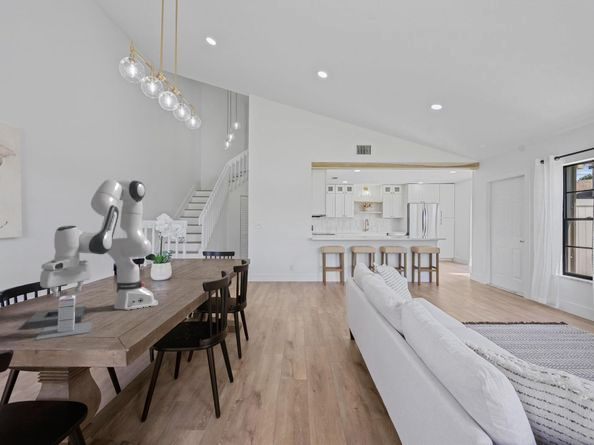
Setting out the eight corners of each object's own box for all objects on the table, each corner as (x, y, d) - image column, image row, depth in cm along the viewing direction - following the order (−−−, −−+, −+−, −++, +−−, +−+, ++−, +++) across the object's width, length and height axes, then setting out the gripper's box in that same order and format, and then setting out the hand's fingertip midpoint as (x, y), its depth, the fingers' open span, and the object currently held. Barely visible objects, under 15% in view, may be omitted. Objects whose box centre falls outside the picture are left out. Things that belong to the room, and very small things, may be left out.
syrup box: (73, 330, 134) (75, 297, 134) (56, 332, 130) (58, 298, 131) (74, 327, 138) (76, 294, 139) (57, 329, 135) (59, 295, 135)
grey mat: (92, 322, 146) (92, 321, 146) (89, 332, 132) (89, 332, 132) (44, 328, 137) (44, 327, 137) (35, 340, 123) (35, 339, 123)
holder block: (85, 311, 164) (85, 306, 164) (80, 322, 146) (80, 316, 146) (37, 317, 154) (37, 311, 154) (26, 329, 136) (26, 322, 136)
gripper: (84, 259, 146) (84, 288, 146) (37, 265, 126) (37, 299, 126) (94, 259, 144) (94, 289, 144) (48, 266, 124) (48, 300, 125)
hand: (67, 293), depth 135 cm, fingers open, 8 cm apart
